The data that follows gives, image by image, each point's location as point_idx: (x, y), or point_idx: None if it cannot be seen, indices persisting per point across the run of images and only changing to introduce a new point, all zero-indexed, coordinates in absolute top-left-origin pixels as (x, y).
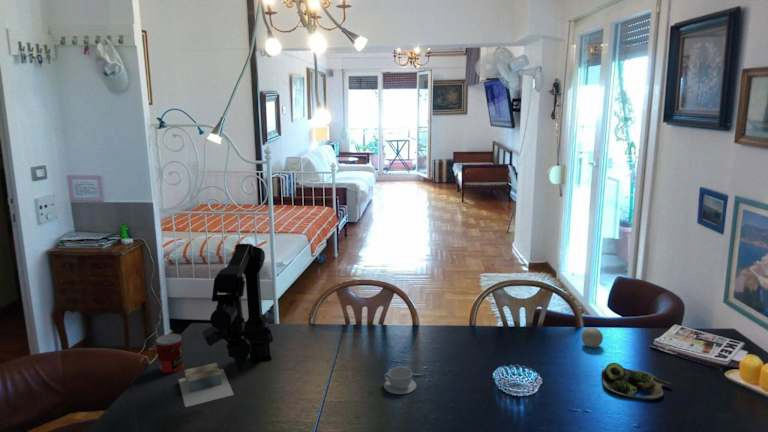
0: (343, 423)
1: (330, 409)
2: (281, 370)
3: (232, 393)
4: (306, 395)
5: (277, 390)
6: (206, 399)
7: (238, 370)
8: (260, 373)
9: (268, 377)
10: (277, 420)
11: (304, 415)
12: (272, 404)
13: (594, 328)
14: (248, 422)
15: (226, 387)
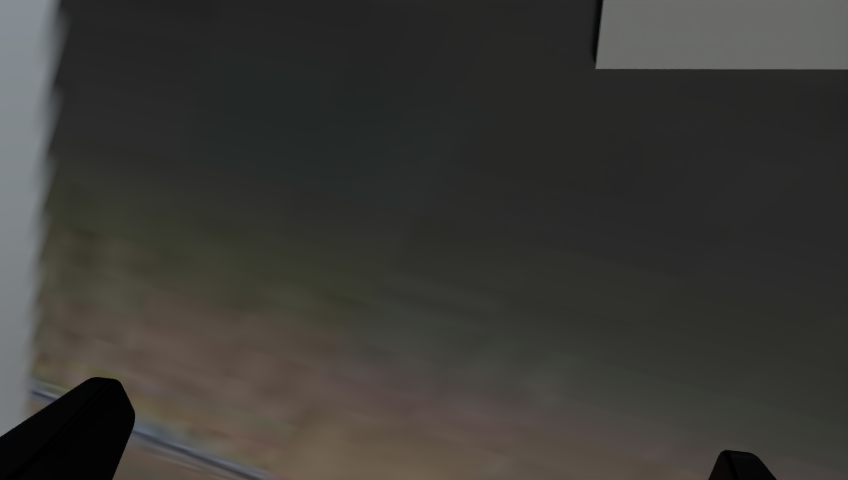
0: None
1: (162, 468)
2: None
3: (629, 59)
4: (334, 446)
5: (475, 360)
6: None
7: (72, 400)
8: (837, 347)
9: (713, 370)
10: (94, 259)
11: (128, 378)
12: (300, 287)
13: None
14: (91, 86)
15: (818, 22)
